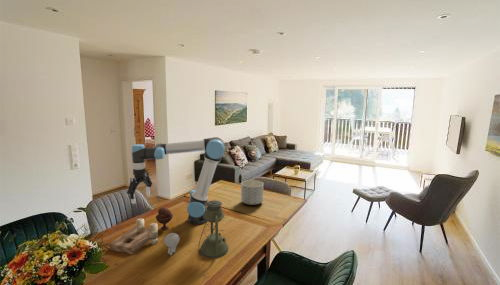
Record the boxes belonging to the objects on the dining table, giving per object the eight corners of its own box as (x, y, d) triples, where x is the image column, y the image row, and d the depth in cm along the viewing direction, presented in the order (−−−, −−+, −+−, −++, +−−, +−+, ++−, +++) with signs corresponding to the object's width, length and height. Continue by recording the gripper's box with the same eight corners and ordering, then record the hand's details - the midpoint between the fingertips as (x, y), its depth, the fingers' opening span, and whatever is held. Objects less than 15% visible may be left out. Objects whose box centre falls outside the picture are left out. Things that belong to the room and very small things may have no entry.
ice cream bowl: (157, 234, 167) (156, 212, 165) (155, 226, 177) (154, 206, 175) (174, 230, 172) (173, 209, 170) (171, 223, 182) (170, 203, 179)
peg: (159, 241, 159) (159, 223, 157) (155, 245, 155) (154, 227, 153) (153, 240, 160) (152, 222, 158) (148, 244, 156) (147, 225, 154)
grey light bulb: (171, 248, 151) (171, 230, 150) (182, 251, 149) (181, 232, 147) (162, 256, 144) (161, 236, 142) (172, 259, 141) (172, 239, 139)
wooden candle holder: (156, 235, 166) (155, 218, 164) (133, 254, 145) (131, 235, 143) (135, 231, 170) (135, 214, 168) (110, 249, 149) (108, 231, 147)
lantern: (231, 257, 144) (232, 207, 139) (200, 262, 139) (199, 211, 134) (224, 238, 164) (225, 194, 159) (197, 242, 159) (196, 196, 154)
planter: (266, 202, 224) (267, 182, 221) (255, 209, 208) (256, 188, 205) (248, 197, 234) (249, 178, 231) (236, 204, 218) (237, 184, 215)
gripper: (147, 163, 177) (149, 192, 180) (119, 172, 153) (121, 206, 157) (156, 164, 175) (158, 193, 178) (129, 174, 151) (131, 207, 155)
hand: (141, 199), depth 168 cm, fingers open, 13 cm apart
